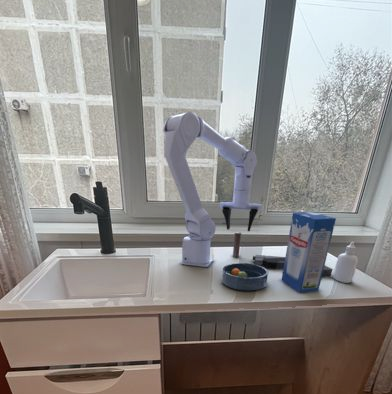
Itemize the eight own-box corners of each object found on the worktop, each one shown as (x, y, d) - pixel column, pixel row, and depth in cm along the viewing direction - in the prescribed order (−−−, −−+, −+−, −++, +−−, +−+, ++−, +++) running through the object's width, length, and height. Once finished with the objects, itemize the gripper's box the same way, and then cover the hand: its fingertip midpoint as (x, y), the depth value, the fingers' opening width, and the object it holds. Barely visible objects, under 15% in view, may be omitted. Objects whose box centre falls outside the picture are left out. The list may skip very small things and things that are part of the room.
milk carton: (281, 280, 89) (292, 212, 79) (298, 278, 90) (312, 212, 81) (299, 292, 81) (315, 219, 71) (318, 290, 82) (336, 218, 72)
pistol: (335, 272, 89) (325, 258, 102) (252, 265, 93) (253, 253, 106) (333, 279, 90) (324, 264, 103) (251, 272, 94) (252, 258, 107)
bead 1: (237, 281, 87) (229, 278, 89) (242, 275, 88) (234, 272, 90) (236, 274, 85) (228, 271, 86) (242, 268, 86) (233, 265, 87)
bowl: (217, 288, 82) (218, 274, 80) (226, 273, 93) (227, 261, 91) (264, 294, 79) (266, 280, 77) (267, 278, 90) (269, 265, 88)
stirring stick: (231, 256, 110) (233, 232, 105) (234, 255, 111) (236, 231, 107) (237, 257, 109) (239, 233, 104) (239, 256, 110) (242, 232, 106)
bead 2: (239, 274, 88) (246, 281, 87) (233, 277, 86) (239, 284, 85) (244, 268, 85) (250, 275, 84) (237, 271, 83) (244, 278, 83)
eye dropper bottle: (344, 277, 92) (354, 239, 87) (353, 283, 88) (365, 244, 82) (330, 276, 92) (340, 239, 86) (339, 283, 87) (350, 244, 82)
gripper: (264, 189, 101) (259, 229, 107) (223, 188, 104) (221, 226, 111) (262, 191, 95) (257, 233, 101) (219, 189, 98) (217, 229, 105)
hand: (238, 229), depth 106 cm, fingers open, 7 cm apart
